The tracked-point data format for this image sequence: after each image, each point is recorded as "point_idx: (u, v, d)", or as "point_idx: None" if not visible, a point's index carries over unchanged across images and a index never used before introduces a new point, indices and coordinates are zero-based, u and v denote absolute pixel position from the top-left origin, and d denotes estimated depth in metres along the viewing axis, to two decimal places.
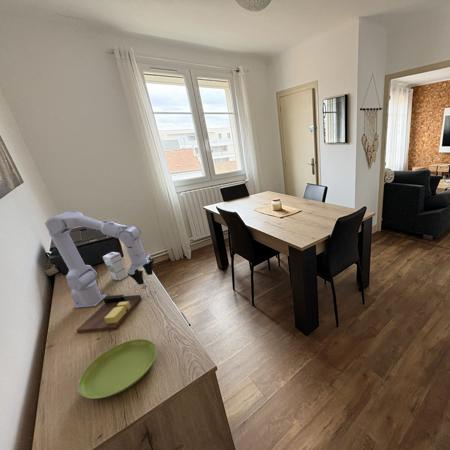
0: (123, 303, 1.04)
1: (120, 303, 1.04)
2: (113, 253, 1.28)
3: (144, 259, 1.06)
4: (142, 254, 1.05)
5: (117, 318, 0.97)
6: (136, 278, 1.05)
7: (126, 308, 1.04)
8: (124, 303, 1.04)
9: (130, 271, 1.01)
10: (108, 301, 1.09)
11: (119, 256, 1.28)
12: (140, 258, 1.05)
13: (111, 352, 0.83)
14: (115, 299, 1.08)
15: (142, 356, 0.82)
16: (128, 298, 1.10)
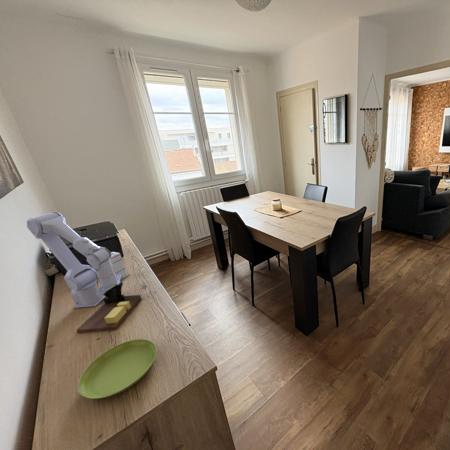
0: (123, 303, 1.04)
1: (120, 303, 1.04)
2: (113, 253, 1.28)
3: (114, 281, 1.06)
4: (112, 276, 1.04)
5: (117, 318, 0.97)
6: (110, 296, 1.07)
7: (126, 308, 1.04)
8: (124, 303, 1.04)
9: (98, 294, 1.00)
10: (108, 301, 1.09)
11: (119, 256, 1.28)
12: (110, 280, 1.04)
13: (111, 352, 0.83)
14: None
15: (142, 356, 0.82)
16: (128, 298, 1.10)
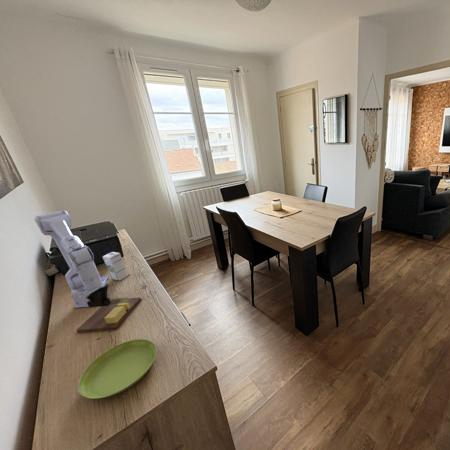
0: (123, 303, 1.04)
1: None
2: (113, 253, 1.28)
3: (98, 283, 0.97)
4: (96, 277, 0.96)
5: (117, 318, 0.97)
6: (94, 300, 0.98)
7: (126, 308, 1.04)
8: (124, 303, 1.04)
9: (80, 297, 0.91)
10: (92, 305, 1.00)
11: (119, 256, 1.28)
12: (93, 282, 0.95)
13: (111, 352, 0.83)
14: None
15: (142, 356, 0.82)
16: (114, 301, 1.01)
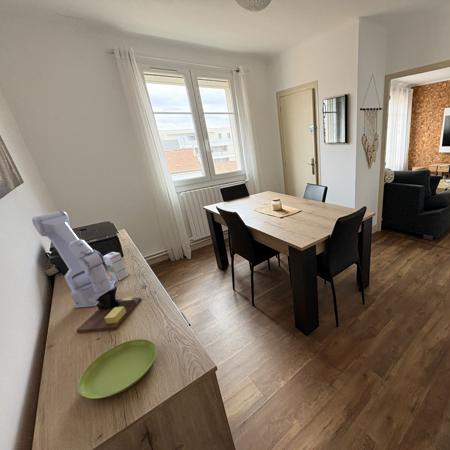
0: (127, 298, 1.06)
1: (124, 298, 1.06)
2: (113, 253, 1.28)
3: (108, 285, 1.02)
4: (105, 280, 1.01)
5: (117, 318, 0.97)
6: (103, 302, 1.03)
7: None
8: (128, 298, 1.06)
9: (91, 300, 0.96)
10: (102, 307, 1.05)
11: (119, 256, 1.28)
12: (103, 285, 1.00)
13: (111, 352, 0.83)
14: None
15: (142, 356, 0.82)
16: (122, 303, 1.06)
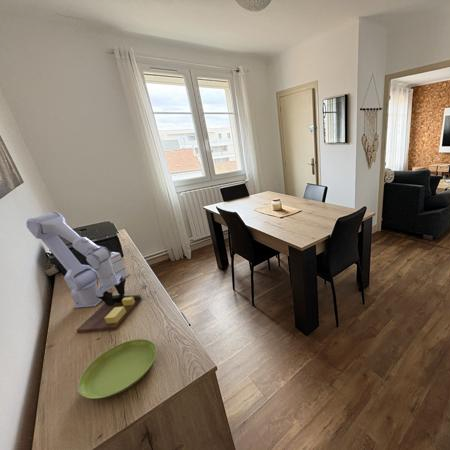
0: (127, 298, 1.06)
1: (124, 298, 1.06)
2: (113, 253, 1.28)
3: (114, 280, 1.05)
4: (112, 275, 1.04)
5: (117, 318, 0.97)
6: (106, 299, 1.04)
7: (130, 303, 1.07)
8: (128, 298, 1.06)
9: (98, 293, 1.00)
10: None
11: (119, 256, 1.28)
12: (110, 279, 1.04)
13: (111, 352, 0.83)
14: (115, 299, 1.08)
15: (142, 356, 0.82)
16: None
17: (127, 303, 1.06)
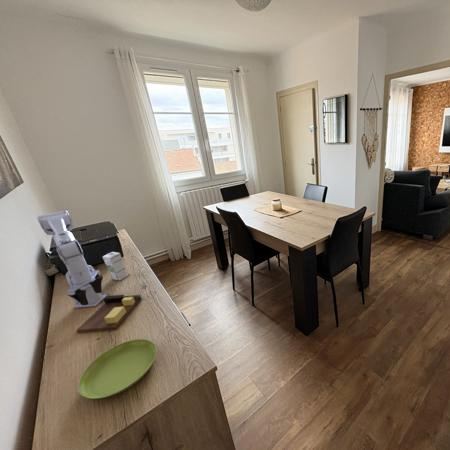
0: (127, 298, 1.06)
1: (124, 298, 1.06)
2: (113, 253, 1.28)
3: (88, 277, 0.96)
4: (85, 272, 0.95)
5: (117, 318, 0.97)
6: (79, 298, 0.95)
7: (130, 303, 1.07)
8: (128, 298, 1.06)
9: (69, 292, 0.90)
10: (108, 301, 1.09)
11: (119, 256, 1.28)
12: (83, 276, 0.94)
13: (111, 352, 0.83)
14: (115, 299, 1.08)
15: (142, 356, 0.82)
16: None
17: (127, 303, 1.06)
